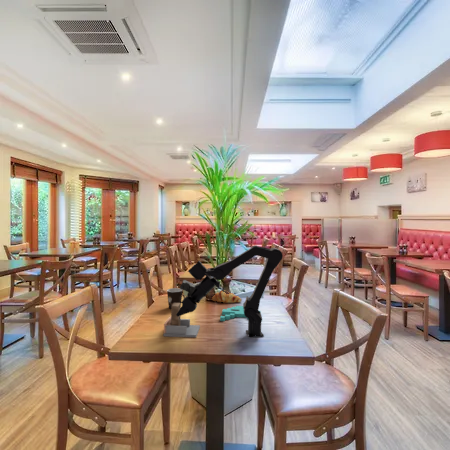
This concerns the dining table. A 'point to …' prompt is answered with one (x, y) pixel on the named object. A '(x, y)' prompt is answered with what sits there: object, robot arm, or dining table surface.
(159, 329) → the dining table surface
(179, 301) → the coffee mug
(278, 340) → the dining table surface
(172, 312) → the menu block
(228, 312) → the alien figure
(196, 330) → the seat
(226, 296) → the croissant
